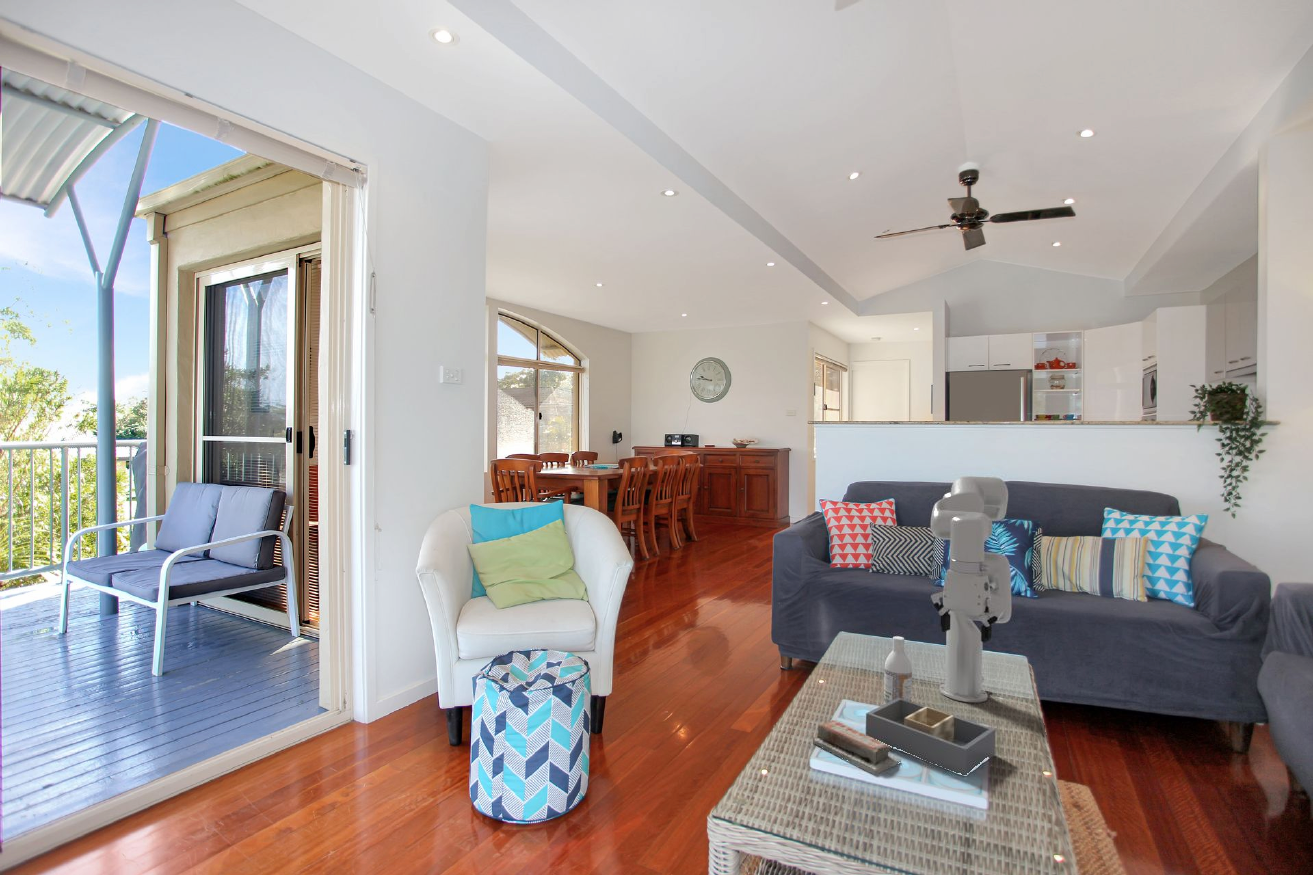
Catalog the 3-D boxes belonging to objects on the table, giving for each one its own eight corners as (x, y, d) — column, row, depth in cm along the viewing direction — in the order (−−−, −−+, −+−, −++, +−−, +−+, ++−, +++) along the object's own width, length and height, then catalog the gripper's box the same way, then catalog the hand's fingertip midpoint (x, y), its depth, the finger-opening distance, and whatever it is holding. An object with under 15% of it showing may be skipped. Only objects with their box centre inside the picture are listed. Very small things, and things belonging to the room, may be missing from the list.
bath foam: (900, 719, 170) (901, 643, 170) (878, 709, 176) (879, 636, 176) (916, 713, 174) (917, 639, 174) (894, 704, 179) (895, 632, 180)
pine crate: (925, 730, 161) (926, 706, 161) (953, 740, 156) (954, 715, 156) (903, 743, 154) (904, 717, 154) (932, 754, 149) (933, 728, 149)
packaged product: (811, 724, 155) (838, 715, 161) (810, 744, 155) (837, 734, 161) (874, 754, 140) (902, 743, 146) (874, 777, 140) (901, 765, 146)
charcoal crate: (898, 720, 169) (898, 697, 169) (994, 754, 151) (995, 729, 151) (865, 737, 158) (866, 713, 159) (965, 777, 140) (965, 749, 140)
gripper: (1010, 571, 154) (1008, 641, 154) (939, 558, 167) (938, 624, 168) (996, 575, 149) (995, 648, 150) (925, 562, 163) (923, 629, 163)
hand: (965, 635), depth 159 cm, fingers open, 9 cm apart
